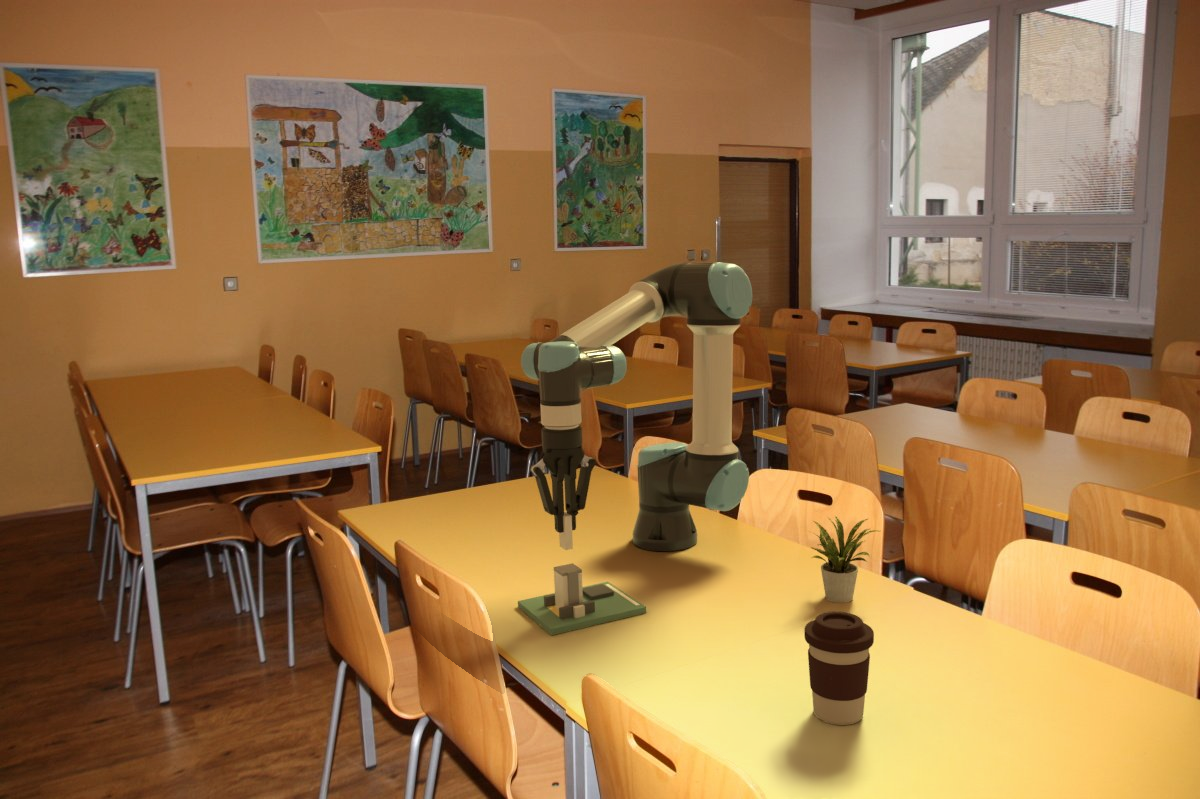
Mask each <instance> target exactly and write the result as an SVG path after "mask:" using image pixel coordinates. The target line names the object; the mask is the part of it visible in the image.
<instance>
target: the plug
mask: <svg viewBox="0 0 1200 799" xmlns="http://www.w3.org/2000/svg"><path fill="white" fill-rule="evenodd" d="M553 578H554V579H553V580H554V581H553V582H554V593H555V606H556V608H558V609H559V608H560V607H564V606H569V605H573V604H578V603H582V602H583V591H582V587H583V570H582V568H580V567H579V566H578V565H576V564H574V563H573V562H571V563H568V564H562V565H558V566H554V567H553Z"/></svg>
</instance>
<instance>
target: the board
mask: <svg viewBox="0 0 1200 799" xmlns="http://www.w3.org/2000/svg"><path fill="white" fill-rule="evenodd" d="M582 591H583V602H582V603H578V604H573V605H569V606H564V607H560V608H559V609H558V608H556V606H555V592H553V593H549V594H544V595H540V596H536V597H531V598H525V599H521V600H517V608H519V609H520V610H521V611H522V612H523V613H524V614H526V615H527V616H528V617H529V618H530V619H532V621H534V622H535V623H536V624H538V626H540V627H541V628H542V629H543V630H544V631H546V633H548V634H549V635H550V636H554V635H559V634H562V633H567V632H571V631H572V632H573V631H575V630H580V629H584V628H588V627H593V626H596V625H601V624H604V623H610V622H615V621H617V620H621V619H622V620H623V619H625V618H626V619H627V618H631V617H635V616H637V615H638V616H639V615H643V614H647V606H645V605H644V604H643V603H641V601H638V599H635V598H634V597H632V596H631V595H629V594H627V593H626V592H624V591H623V590H621V589H619V587H616V586H615V585H614V584H612V583H610V582H609V581H605V582H599V583H595V584H590V585H586V586H585V585H584V586H582Z"/></svg>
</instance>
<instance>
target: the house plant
mask: <svg viewBox="0 0 1200 799" xmlns="http://www.w3.org/2000/svg"><path fill="white" fill-rule="evenodd" d="M834 517H835V518H834V520H835V523H836V524H835V523H834V522H833V520H832V519H831V518H828V520H829V521H830V522H831V524H832V525H833V527H834V529H835V532H836V538H837V541H838V547H837V543H836V541H835V539H834V538H831V535H830V533H828V531H827V529H826V528H825V527H824V526H822V525H821V524H820V523H818V522H817V521H814V520H813V523H814V524H815V525H816V526H817V528H818V529H819V535H817V534H816V533H814V535H815V536H817V538H818V539H819V542H820V543H819V544H817V546H819V545H820V547H821V546H822V548H823V550H822V549H821V548H818V547H813V546H812V547H811V546H810V549H812V550H814V551H817V553H818V554H819V553H820V554H821V555H823V556H825V557H826V558H827V560H826V559H824V558H823V557H822V556H820V555H814V556H812V557H811V559H812V558H814V559H820V560H823V561H824V563H822V564H821V566H820V570H821V576H822V583H823V584H822V585H823V589H824V594H825V599H826V600H828V601H829V602H833V603H840V604H843V603H848V602H849V603H850V602H851V601H853V599H854V594H855V588H856V582H857V577H858V571H859V567H858V565H856V564H853V563H851V562H855V561H863V562H866V563H868V560H866V559H865V558H863V557H857V556H862V555H863V556H868V557H869V558H870V554H869V553H868V552H867V551H861V552H858V553H857V554H855V552H856V551H857V550H858V548H859V547H860V546H861V545H862V544H863V543H865V542H866V540H862V541H860V540H861V539H862V538H863V537H865V536H866V535H869V534H870V533H874V532H879V533H880V530H877V529H875V530H871V528H866V529H864V530H862V531H861V532H859V533H857V530H858V529H859V528H860V527H861V526H862V524H863V523H865V522H867V521H868V520H869V518H866V519H863V520H860V521H858V522H857V523H856V524H855V525H854V526H853V527H852V528H851V530H850V532H849V534H848V535H847V539H846V541H845V534H844V532H845V531H844V526H843V523H842V522H841V520H840V519H839V518H838V516H836V515H835V516H834ZM807 532H809V533H811V531H808V530H807ZM859 541H860V542H859ZM838 548H839V549H838ZM854 554H855V555H854ZM853 555H854V556H853Z"/></svg>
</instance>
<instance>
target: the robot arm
mask: <svg viewBox="0 0 1200 799" xmlns="http://www.w3.org/2000/svg"><path fill="white" fill-rule="evenodd" d="M752 304H753V288H752V284H751V281H750V278H749V276H748V275H747V274H746V271H745V270H744V269H743V268H742V267H741V266H739V265H737V264H735V263H729V262H721V261H719V262H717V261H716V262H677V263H673V264H671V265H667V266H665V267H663V268H662V267H661V268H660V269H658V270H656V271H654V272H652V273H651V274H649V275H647V276H645V277H643V278H641V279H640V280H638V281H636V282H635V283H634V284H632V285H631V287H630V288H629V290H628V292H627V293H626V294H624V295H623V296H620V297H619V298H618V299H616V300H615V301H613V302H611V303H609V304H608V305H606V306H605V307H603V308H602V309H599V310H598V311H596V312H594V313H593V314H592V315H590V316H588V317H587V318H585V319H584V320H582V321H580V322H579V323H577V324H575V325H574V326H573V327H571V328H569V329H567V330H566V331H565V332H563V333H561V334H560V335H558V336H557V337H555V338H552V339H551V340H549V341H547V342H532V343H531V344H528V345H527V346H526V347H525V348H524V350H523V351H522V354H521V358H520V365H521V369H522V372H523V373H524V374H525V376H526V377H527V378H528V379H532V380H536V381H538V382H539V386H538V387H539V397H540V398H539V399H540V401H539V402H540V404H539V405H540V423H541V425H542V428H541V429H540V430H541V446H542V447H541V448H542V452H541V455H540V460H539V461H538V462H537V463H536V464H531V465H530V466H529V471H530V472H531V474H532V475H533V476H534V478H535V482H536V485H537V488H538V492H539V496H540V499H541V503H542V507H543V510H544V512H545V513H548V514H549V515H550V516H554V530H555V532H557V533H558V535H559V538H558V539H559V547H560V548H562V550H563V549H564V550H565V551H568V550H574V544H573V531H576V530H577V516H578V514H579V511H583V510H584V509H585V508H586V504H587V498H588V492H589V488H590V487H589V486H590V482H591V481H590V480H591V477H592V472H593V469H594V467H595V465H596V464H597V461H596V459H595V458H593V457H590V456H587V455H586V454H585V453H586V452H585V450H584V449H583V429H582V428H583V427H582V426H581V423H582V419H583V418H582V398H581V397H582V395H581V394H582V392H581V391H584V390H587V389H588V390H589V389H593V388H594V389H595V388H600V387H605V386H606V387H609V386H610V385H613V384H617V383H619V382H621V381H622V380H623V379H624V377H625V375H626V373H627V367H628V366H627V358H626V356H625V354H624V352H623V351H622V350H621V349H620V348H619V347H617V346H615V345H613V344H615V343H617V342H618V341H619V340H620V341H621V339H623V338H625V337H626V336H628V335H629V334H630V333H632V332H634V331H635V330H637V329H638V328H640V327H641V326H643V325H644V324H646V323H655V322H656V323H657V321H659V320H661V319H662V318H666V317H673V316H685V317H686V326H687V328H688V329H690V331H691V332H692V333H693V355H692V356H693V360H692V365H693V366H692V372H693V373H692V440H691V442H690V443H689V444H687V443H685V442H665V443H664V442H663V443H659V444H654V445H653V444H651V445H649V446H645V447H643V448H642V449H640V451H639V452H638V453H637V455H638V456H637V465H636V467H637V481H638V483H637V486H638V487H637V488H638V503H639V504H638V506H639V509H638V513H637V516H636V520H635V524H634V526H633V530H632V543H633V545H634V546H636V547H638V548H640V549H642V550H647V551H653V552H672V551H673V552H675V551H681V550H685V549H689V548H691V547H693V546H694V545H696V544H697V543H698V531H697V530H698V529H697V528H696V525H695V522H694V519H693V516H692V514H691V510H690V506H694V507H699V508H704V509H707V510H710V511H720V512H727V511H731V510H733V509H735V508H736V507H737V506H738V505H739V504H740V502H741V501H742V499H743V498H744V496H745V494H746V492H747V489H748V487H749V480H750V472H749V467H747V464H746V463H745V462H744V461H742V460H741V459H739V448H738V447H737V446H736V445H735V444H734V442H733V441H732V438H733V437H732V436H733V435H732V431H733V430H732V428H733V427H732V426H733V424H732V423H733V422H732V421H733V420H732V419H733V376H734V375H733V373H734V372H733V371H734V370H733V368H734V367H733V366H734V365H733V362H734V334H735V332H736V331H737V329H739V328H740V327H741V319H742V318H743V317H745V316H746V315H747V314H748V313H749V312H750V308H751V307H752ZM579 466H580V469H579V472H578V478H577V470H578V467H579ZM545 467H546V469H547V470H548V471H549V473H550V479H551V491H552V492H551V491H550V487H549V484H548V481H547V477H546V475H545V473H546V469H545ZM576 480H577V484H576ZM551 493H552V494H551Z"/></svg>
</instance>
